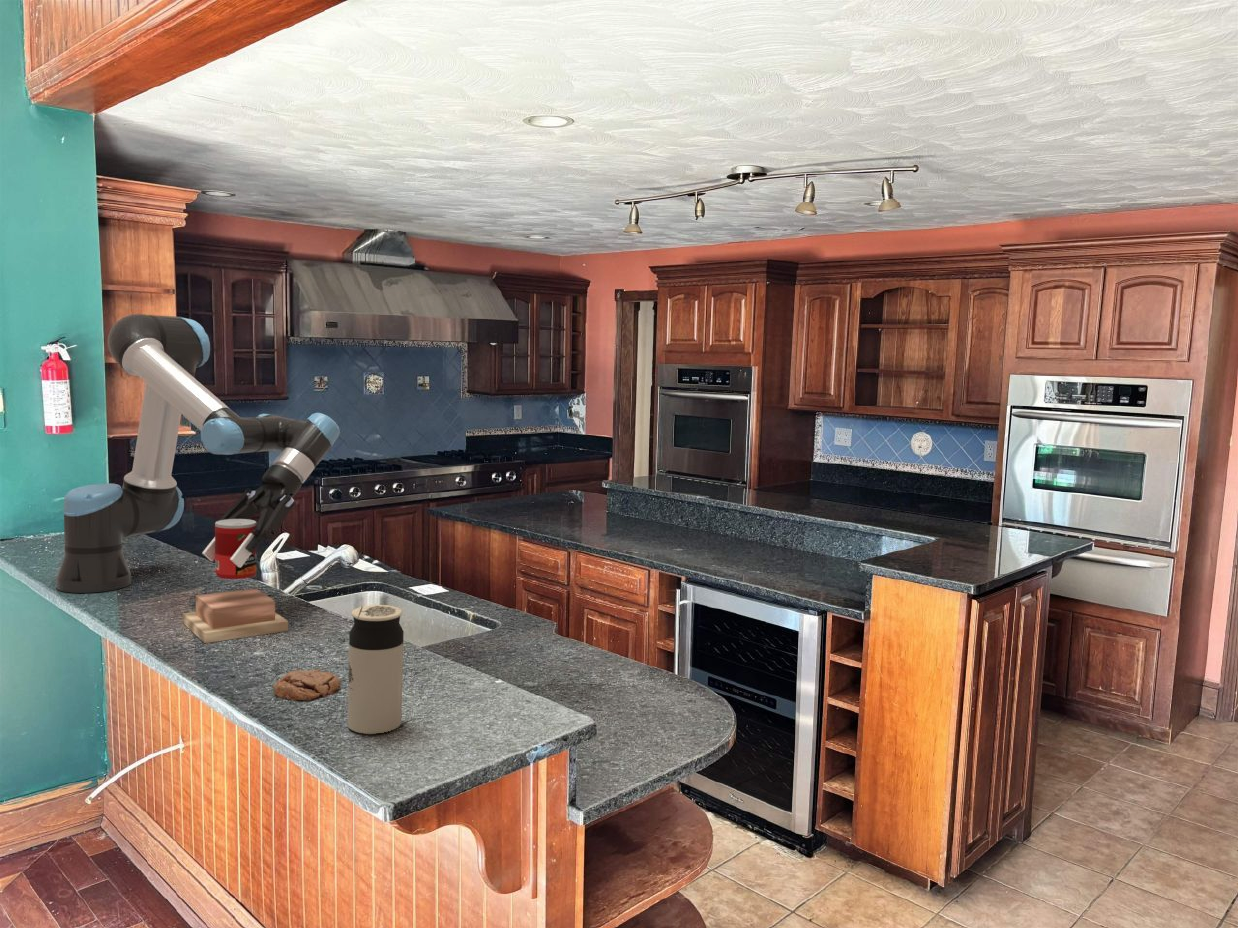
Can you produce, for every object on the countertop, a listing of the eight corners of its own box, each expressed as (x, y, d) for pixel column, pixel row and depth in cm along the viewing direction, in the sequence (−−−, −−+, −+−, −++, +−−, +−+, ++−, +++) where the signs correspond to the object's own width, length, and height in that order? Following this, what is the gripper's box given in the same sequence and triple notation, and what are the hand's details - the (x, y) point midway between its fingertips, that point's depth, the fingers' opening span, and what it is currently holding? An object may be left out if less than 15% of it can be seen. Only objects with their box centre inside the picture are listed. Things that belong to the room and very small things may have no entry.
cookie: (350, 693, 151) (350, 676, 150) (288, 707, 143) (288, 689, 143) (323, 677, 158) (323, 660, 157) (263, 689, 150) (263, 672, 150)
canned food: (242, 580, 177) (242, 526, 176) (206, 577, 179) (206, 523, 178) (264, 572, 185) (264, 520, 184) (230, 569, 186) (230, 517, 185)
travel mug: (406, 716, 141) (408, 605, 139) (395, 736, 133) (397, 619, 131) (355, 714, 141) (357, 603, 139) (341, 734, 133) (343, 617, 131)
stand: (182, 622, 184) (182, 594, 183) (261, 612, 194) (262, 585, 194) (204, 643, 172) (204, 612, 171) (288, 630, 182) (288, 602, 181)
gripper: (331, 490, 188) (267, 578, 176) (265, 480, 198) (200, 563, 186) (311, 467, 183) (243, 556, 171) (244, 458, 193) (176, 542, 181)
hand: (221, 560), depth 179 cm, fingers closed on canned food, 8 cm apart
